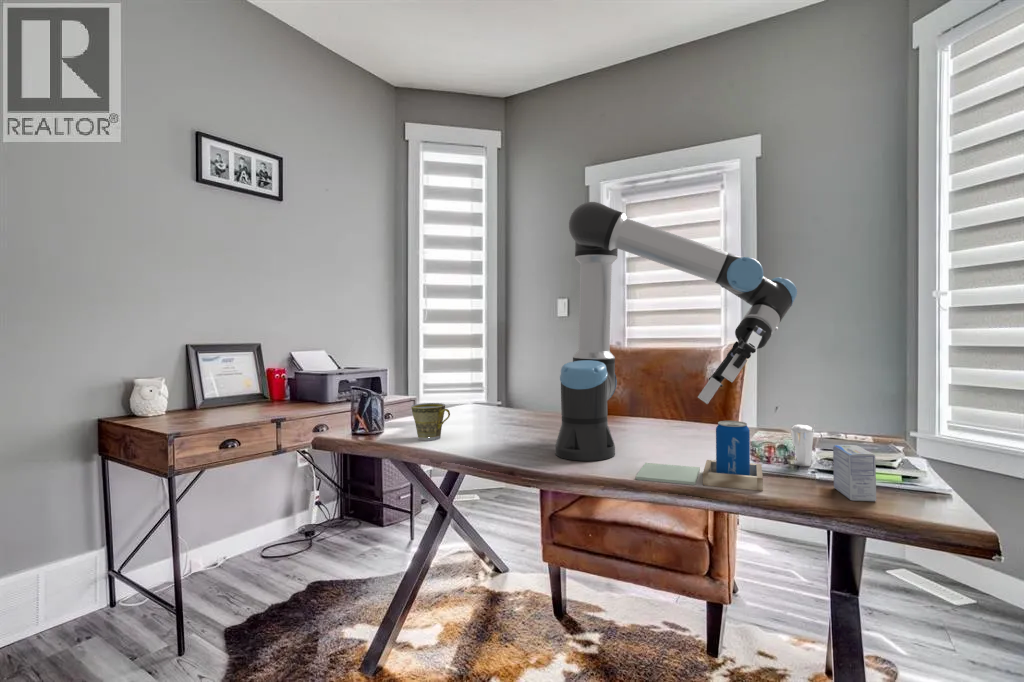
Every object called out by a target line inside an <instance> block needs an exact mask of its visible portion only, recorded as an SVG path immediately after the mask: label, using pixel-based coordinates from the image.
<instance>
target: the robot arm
mask: <svg viewBox="0 0 1024 682" xmlns="http://www.w3.org/2000/svg"><path fill="white" fill-rule="evenodd" d="M568 231H569V234H570V236H571V238H572V239H573V241H575V242H574V259H575V260H576V261H577V262H578V263H579V309H578V310H579V311H578V312H579V313H578V317H579V318H578V349H577V352H575V353H574V354H573V356H572V361H569V362H567V363H564V364H563V365H562V366H561V367H560V374H559V380H560V400H561V401H560V402H561V403H560V405H561V406H560V409H561V410H560V411H561V415H560V416H561V425H560V429H559V432H558V435H557V438H556V441H555V446H554V447H555V449H554V451H555V453H554V454H555V455H556V456H557V457H559V458H562V459H565V460H569V461H570V460H571V461H580V462H581V461H582V462H583V461H584V462H591V461H594V462H595V461H603V460H607V459H610V458H611V459H612V458H613V457H615V456H616V445H615V442H614V439H613V436H612V433H611V430H610V427H609V424H608V421H609V420H608V401H609V400H610V399H611V398H612V396H613V395H614V393H615V392H616V389H617V384H618V381H617V375H616V373H615V370H616V367H615V366H616V362H615V361H616V357H615V355H614V354H613V353H612V352H611V351H610V350H611V349H610V347H611V346H610V345H611V344H610V343H611V342H610V341H611V310H612V309H611V308H612V307H611V306H612V305H611V304H612V270H613V269H612V265H613V263H614V262H615V261H617V260H618V254H619V253H618V250H620V251H624V252H626V253H629V254H632V255H635V256H638V257H641V258H644V259H647V260H648V261H652V262H655V263H658V264H660V265H664V266H667V267H669V268H672V269H675V270H678V271H681V272H683V273H686V274H690V275H692V276H695V277H698V278H701V279H704V280H707V281H709V282H713V283H716V284H717V285H718V286H720V287H721V288H723V289H725V290H726V291H729V292H730V293H732V295H735V296H736V297H738V298H740V299H741V300H742V301H744V302H746V303H747V304H749V305H750V306H751V307H750V308H749V309H748V311H747V312H746V314H745V315H744V317H743V318H742V320H741V321H740V322H739V324H738V325H737V327H736V328H735V331H734V334H735V338H736V339H737V341H735V342H734V343H733V345H732V347H731V349H730V350H729V352H727V354H726V356H725V358H724V359H723V361H722V362H721V363H720V364H719V365H718V367H717V368H716V369H715V370H714V372H713V374H712V375H711V376H709V378H708V382H707V383H706V384H705V385H704V387H703V388H702V390H701V392H699V394H698V396H697V398H698V399H699V400H700V401H702V402H703V403H705V404H706V405H708V404H709V403H710V402H711V400H712V398H714V395H715V394H716V393H717V391H718V390H719V388H722V387H723V386H724V384H722V382H723V381H724V380H727V381H729V382H731V383H734V381H736V380H735V379H736V378H737V377H738V375H739V374H740V372H741V371H742V369H743V368H744V367H745V365H746V363H747V361H748V359H750V358H751V356H752V354H755V353H756V352H757V349H762V348H764V347H765V346H766V344H767V343H768V341H769V340H770V338H771V336H772V335H773V334H774V332H778V331H779V327H778V325H780V323H781V322H782V320H783V318H785V316H786V314H787V313H788V311H789V310H790V308H791V307H792V306H793V303H794V302H795V300H796V298H797V296H798V289H797V287H796V284H795V283H794V282H792V281H791V280H790V279H788V278H782V277H779V276H778V277H774V278H772V279H769V278H767V277H766V276H764V267H763V266H762V264H761V263H760V262H759V261H758V260H756V259H755V258H752V257H749V256H741V255H738V254H734V253H731V252H727V251H726V250H722V249H720V248H716V247H712V246H711V245H707V244H703V243H702V242H699V241H695V240H691V239H690V238H686V237H684V236H680V235H677V234H674V233H672V232H669V231H665V230H662V229H659V228H657V227H653V226H651V225H647V224H646V223H645V224H644V223H641V222H640V221H639V222H638V221H635V220H634V219H633V220H632V219H629V218H628V217H627V214H626V213H625V212H622V211H619V210H617V209H614V208H612V207H609V206H607V205H605V204H604V203H603V204H602V203H600V202H597V201H588V202H584V203H582V204H580V205H578V206H577V207H576V208H575V209H574V210H573V212H572V213H571V215H570V217H569V221H568Z"/></svg>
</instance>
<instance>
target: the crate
mask: <svg viewBox="0 0 1024 682" xmlns="http://www.w3.org/2000/svg"><path fill="white" fill-rule="evenodd" d="M763 477H764V476H763V466H762V463H751V462H750V476H748V475H736V474H725V473H716V460H712V459H706V462H705V465H704V468H703V472H702V486H708V487H718V488H719V487H720V488H729V489H739V490H750V491H758V492H759V491H760V492H763V490H764V487H763V486H764V483H763V482H764V480H763V479H764V478H763Z"/></svg>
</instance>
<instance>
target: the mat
mask: <svg viewBox="0 0 1024 682" xmlns="http://www.w3.org/2000/svg"><path fill="white" fill-rule="evenodd" d="M700 471H701V466H691V465H681V464H680V465H677V464H669V463H668V464H666V463H665V464H664V463H654V462H644V464H643V466H642V467H641V468H640V469H639V471H638V472H637V474H636V475H635V480H638V481H650V482H660V483H668V484H669V483H671V484H680V485H682V484H683V485H691V486H696V483H697V481H698V477H699V474H700Z"/></svg>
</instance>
